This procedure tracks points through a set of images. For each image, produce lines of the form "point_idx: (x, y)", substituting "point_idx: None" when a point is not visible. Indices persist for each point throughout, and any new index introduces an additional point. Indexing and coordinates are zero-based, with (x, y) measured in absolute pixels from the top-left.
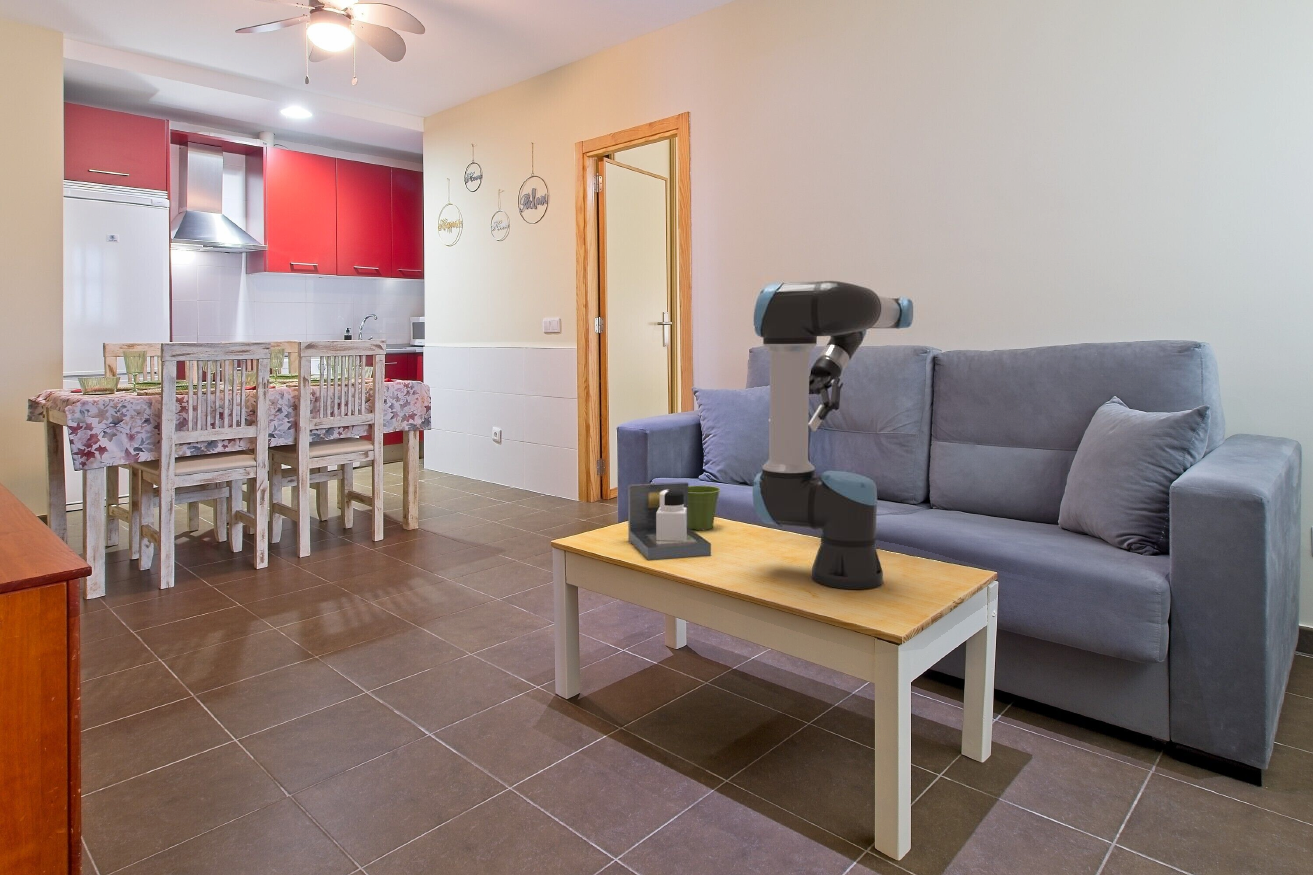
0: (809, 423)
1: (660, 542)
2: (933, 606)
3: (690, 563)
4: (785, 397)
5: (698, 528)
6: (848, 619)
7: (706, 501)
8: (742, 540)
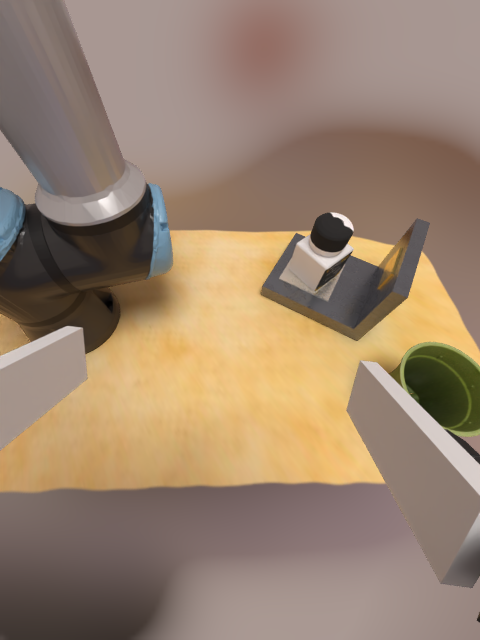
0: (72, 328)
1: None
2: None
3: (253, 260)
4: None
5: None
6: None
7: (396, 372)
8: (288, 382)
